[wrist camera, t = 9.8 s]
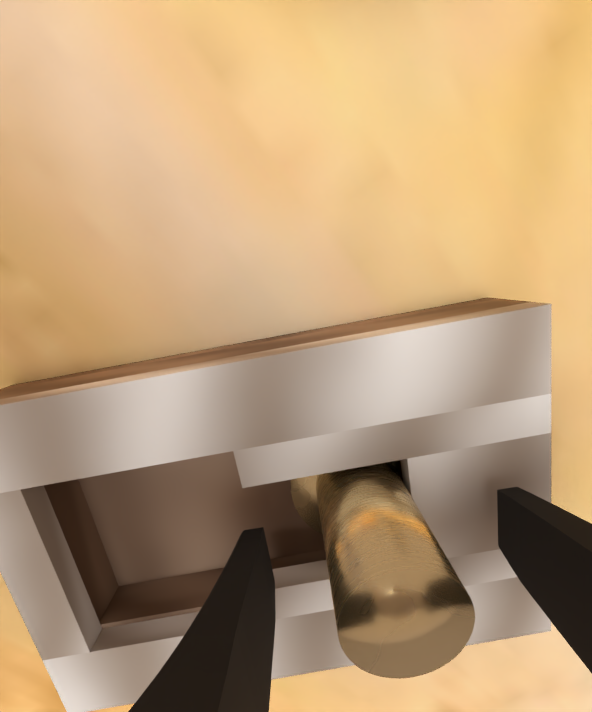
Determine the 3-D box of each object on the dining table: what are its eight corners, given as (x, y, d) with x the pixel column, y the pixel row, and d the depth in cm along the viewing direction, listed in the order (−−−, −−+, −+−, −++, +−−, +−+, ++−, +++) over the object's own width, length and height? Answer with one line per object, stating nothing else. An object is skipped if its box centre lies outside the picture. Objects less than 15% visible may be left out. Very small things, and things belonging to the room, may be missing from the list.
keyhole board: (109, 630, 15) (68, 714, 12) (11, 385, 12) (-73, 418, 10) (499, 562, 15) (550, 630, 12) (487, 297, 12) (551, 303, 9)
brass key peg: (297, 529, 14) (307, 718, 8) (283, 420, 12) (282, 547, 7) (413, 514, 14) (511, 693, 8) (410, 405, 12) (521, 518, 7)
